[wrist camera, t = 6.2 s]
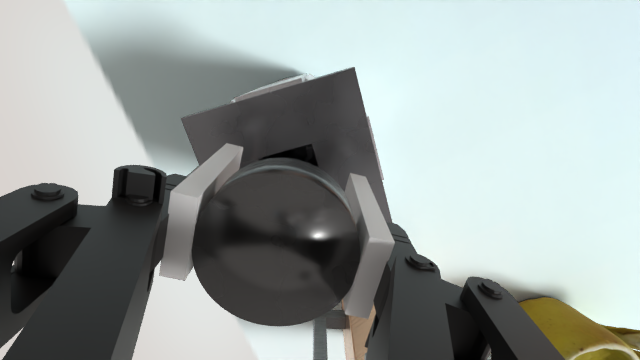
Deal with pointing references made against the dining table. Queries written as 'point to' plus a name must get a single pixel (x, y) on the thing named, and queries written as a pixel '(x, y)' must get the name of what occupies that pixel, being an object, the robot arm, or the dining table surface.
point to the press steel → (297, 127)
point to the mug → (581, 332)
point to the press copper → (352, 332)
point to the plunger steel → (277, 241)
